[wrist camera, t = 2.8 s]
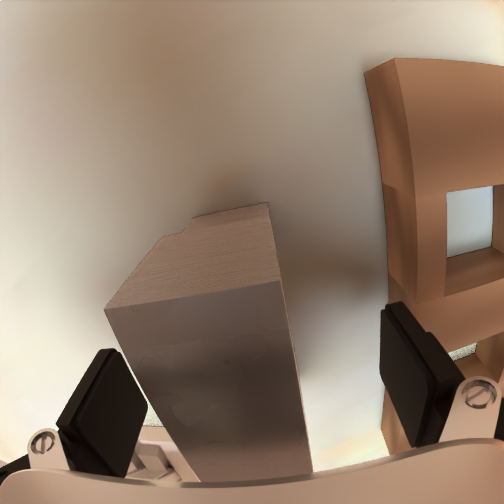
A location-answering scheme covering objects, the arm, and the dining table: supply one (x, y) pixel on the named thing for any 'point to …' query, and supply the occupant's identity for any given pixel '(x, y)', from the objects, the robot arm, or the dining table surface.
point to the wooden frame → (441, 205)
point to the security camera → (158, 458)
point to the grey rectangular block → (217, 347)
